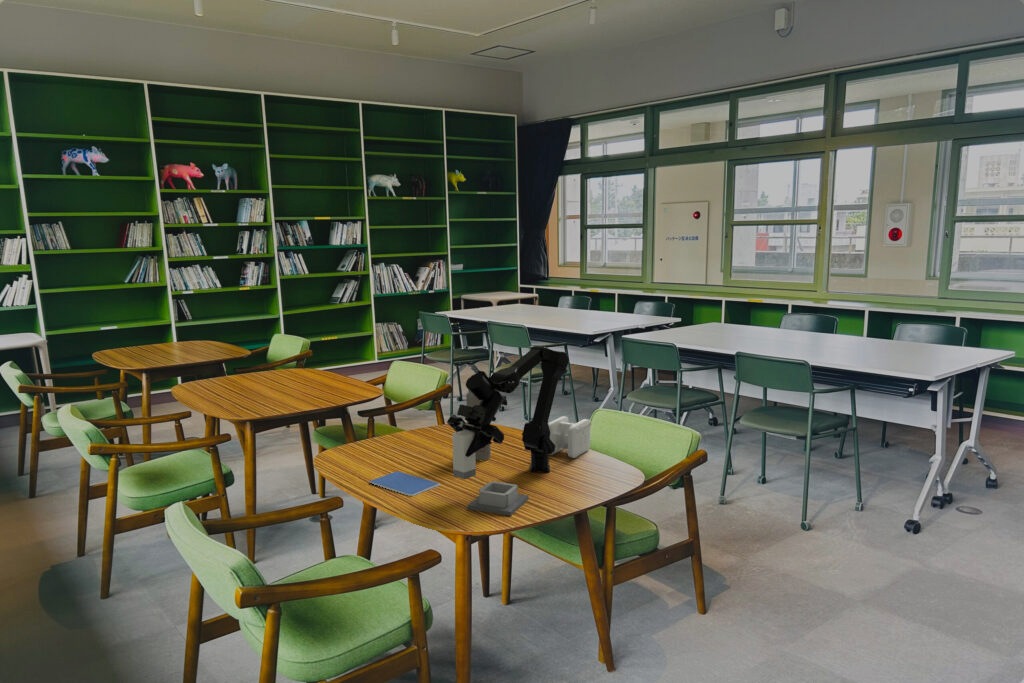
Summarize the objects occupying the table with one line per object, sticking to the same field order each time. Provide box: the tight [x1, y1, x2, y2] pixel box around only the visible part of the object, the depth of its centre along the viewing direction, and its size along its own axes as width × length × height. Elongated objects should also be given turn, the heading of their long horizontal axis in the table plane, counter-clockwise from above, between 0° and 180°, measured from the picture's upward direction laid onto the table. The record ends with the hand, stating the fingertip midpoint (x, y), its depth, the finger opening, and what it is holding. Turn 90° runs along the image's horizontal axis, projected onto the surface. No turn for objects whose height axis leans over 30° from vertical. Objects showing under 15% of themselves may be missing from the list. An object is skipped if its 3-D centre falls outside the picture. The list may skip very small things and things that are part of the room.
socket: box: [466, 481, 530, 516], centre depth 189 cm, size 13×13×5 cm
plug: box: [452, 430, 477, 480], centre depth 192 cm, size 4×4×12 cm
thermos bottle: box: [465, 389, 492, 462], centre depth 229 cm, size 8×8×28 cm
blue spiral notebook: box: [368, 470, 441, 497], centre depth 206 cm, size 19×13×1 cm, turn 53°
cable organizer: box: [548, 415, 592, 459], centre depth 235 cm, size 15×11×12 cm
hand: (460, 454), depth 191 cm, fingers closed on plug, 4 cm apart
